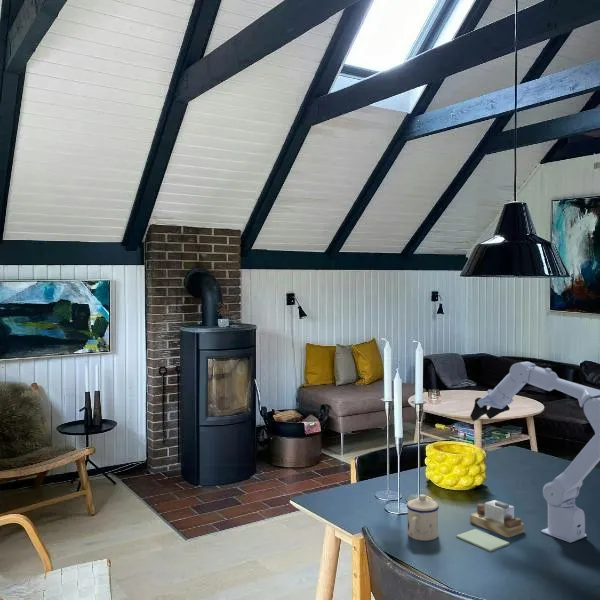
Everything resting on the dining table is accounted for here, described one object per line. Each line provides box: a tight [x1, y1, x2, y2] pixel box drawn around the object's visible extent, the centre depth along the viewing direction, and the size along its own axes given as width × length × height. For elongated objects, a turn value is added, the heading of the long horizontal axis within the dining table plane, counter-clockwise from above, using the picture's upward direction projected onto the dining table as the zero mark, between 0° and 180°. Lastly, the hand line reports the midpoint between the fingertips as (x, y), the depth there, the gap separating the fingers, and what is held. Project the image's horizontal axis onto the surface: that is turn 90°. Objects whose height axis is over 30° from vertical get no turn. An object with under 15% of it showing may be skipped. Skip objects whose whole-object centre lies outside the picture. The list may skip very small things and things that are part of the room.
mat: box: [456, 528, 510, 553], centre depth 176 cm, size 12×8×1 cm, turn 33°
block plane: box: [469, 503, 525, 539], centre depth 185 cm, size 14×7×5 cm, turn 33°
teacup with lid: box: [406, 493, 439, 542], centre depth 179 cm, size 12×9×12 cm
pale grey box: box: [484, 499, 515, 525], centre depth 184 cm, size 7×4×5 cm, turn 33°
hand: (480, 417), depth 200 cm, fingers open, 7 cm apart
